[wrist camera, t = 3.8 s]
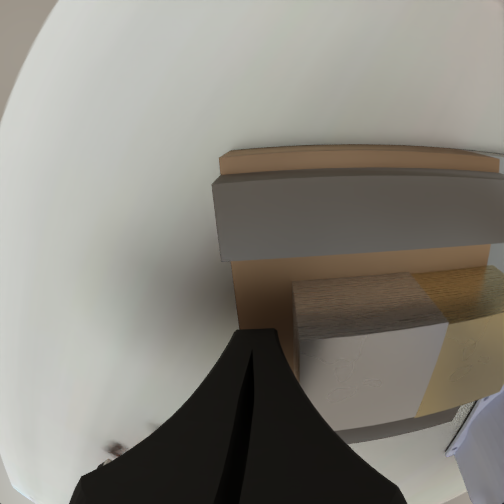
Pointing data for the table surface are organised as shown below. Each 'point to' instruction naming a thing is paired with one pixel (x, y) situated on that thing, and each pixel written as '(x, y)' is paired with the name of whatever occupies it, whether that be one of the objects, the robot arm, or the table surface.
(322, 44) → the table surface
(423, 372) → the grey block
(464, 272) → the tan wooden block
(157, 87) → the table surface
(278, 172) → the slot block
